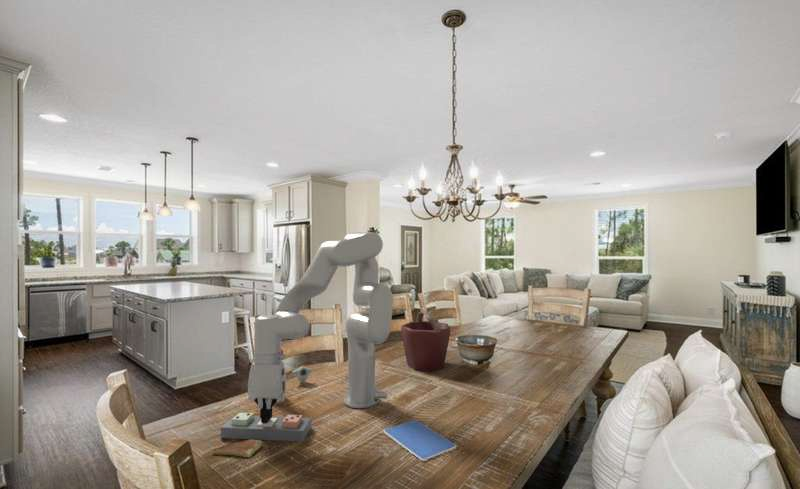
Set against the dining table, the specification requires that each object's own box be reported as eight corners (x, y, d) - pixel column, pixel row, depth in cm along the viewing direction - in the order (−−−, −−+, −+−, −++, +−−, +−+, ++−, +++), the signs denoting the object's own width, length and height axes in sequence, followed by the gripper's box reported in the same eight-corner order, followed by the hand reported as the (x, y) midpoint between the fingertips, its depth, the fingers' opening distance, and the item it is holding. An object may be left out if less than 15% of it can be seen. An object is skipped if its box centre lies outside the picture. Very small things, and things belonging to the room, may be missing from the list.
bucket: (451, 374, 162) (452, 317, 163) (400, 374, 163) (401, 316, 163) (445, 358, 187) (445, 308, 187) (401, 357, 187) (401, 307, 188)
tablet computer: (458, 449, 103) (458, 445, 103) (422, 465, 96) (422, 459, 96) (415, 423, 119) (415, 418, 119) (381, 434, 111) (381, 429, 111)
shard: (211, 455, 99) (211, 448, 99) (229, 441, 107) (229, 434, 107) (248, 460, 97) (248, 453, 97) (264, 445, 105) (264, 438, 105)
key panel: (311, 428, 114) (311, 418, 114) (302, 441, 106) (302, 430, 106) (235, 424, 116) (235, 415, 116) (220, 437, 108) (220, 427, 108)
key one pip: (277, 424, 113) (277, 417, 113) (271, 431, 108) (271, 424, 108) (263, 424, 113) (263, 416, 113) (256, 431, 109) (256, 423, 109)
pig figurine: (311, 379, 155) (311, 363, 155) (313, 383, 152) (313, 366, 152) (291, 382, 152) (291, 366, 152) (293, 386, 148) (293, 369, 148)
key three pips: (302, 421, 112) (302, 414, 112) (296, 428, 108) (296, 421, 108) (287, 421, 112) (287, 413, 112) (281, 428, 108) (282, 420, 108)
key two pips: (253, 419, 113) (253, 412, 113) (246, 426, 109) (246, 419, 109) (239, 419, 114) (239, 411, 114) (231, 426, 109) (231, 418, 109)
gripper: (296, 355, 114) (295, 416, 114) (249, 353, 115) (247, 414, 115) (287, 362, 106) (286, 428, 106) (236, 360, 108) (235, 425, 107)
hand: (266, 420), depth 110 cm, fingers closed
